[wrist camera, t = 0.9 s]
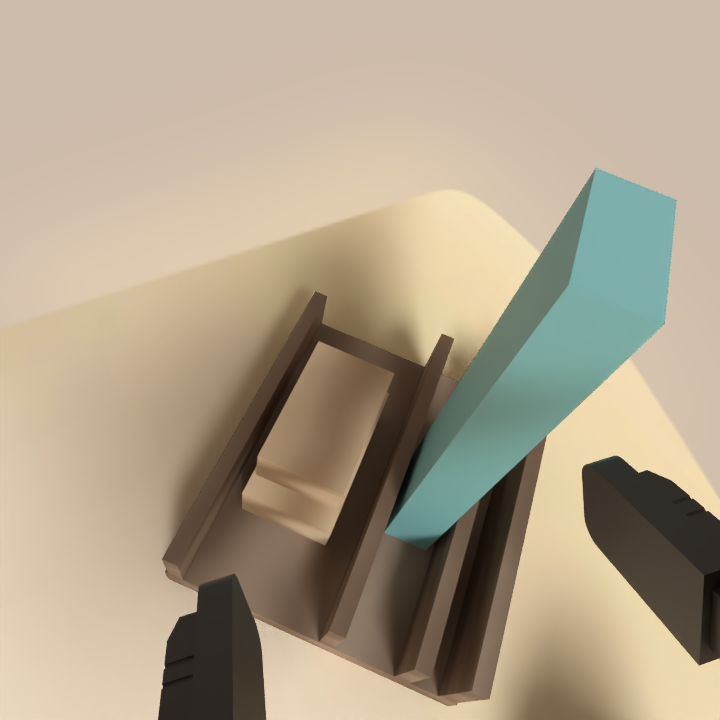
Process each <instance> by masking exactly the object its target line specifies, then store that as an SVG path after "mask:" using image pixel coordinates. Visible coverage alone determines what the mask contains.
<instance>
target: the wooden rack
mask: <svg viewBox="0 0 720 720" xmlns="http://www.w3.org/2000/svg"><path fill="white" fill-rule="evenodd" d="M326 299H327V296H325V295H323V294H320V293H318V292H316V291H315V293H314V295H313V297H312V298H311V300H310V302H309V304H308V305H307V307H306V309H305V311H304V312H303V314H302V316H301V318H300V319H299V321H298V323H297V325H296V326H295V328H294V330H293V332H292V333H291V335H290V337H289V339H288V340H287V342H286V344H285V346H284V347H283V349H282V351H281V353H280V354H279V356H278V358H277V360H276V361H275V363H274V365H273V367H272V368H271V370H270V372H269V373H268V375H267V377H266V379H265V380H264V382H263V384H262V386H261V387H260V389H259V391H258V393H257V394H256V396H255V398H254V400H253V401H252V403H251V405H250V407H249V408H248V410H247V412H246V414H245V415H244V417H243V419H242V421H241V422H240V424H239V426H238V428H237V429H236V431H235V433H234V435H233V436H232V438H231V440H230V442H229V443H228V445H227V447H226V449H225V450H224V452H223V454H222V456H221V457H220V459H219V461H218V463H217V464H216V466H215V468H214V470H213V471H212V473H211V475H210V477H209V478H208V480H207V482H206V484H205V485H204V487H203V489H202V491H201V492H200V494H199V496H198V497H197V499H196V501H195V503H194V504H193V506H192V508H191V510H190V511H189V513H188V515H187V517H186V518H185V520H184V522H183V524H182V525H181V527H180V529H179V531H178V532H177V534H176V536H175V538H174V539H173V541H172V543H171V545H170V546H169V548H168V550H167V552H166V553H165V555H164V557H163V559H162V560H163V562H164V564H165V567H166V571H165V573H166V575H167V577H168V578H169V579H171V580H173V581H175V582H178V583H180V584H182V585H184V586H186V587H189V588H191V589H193V590H195V591H197V592H198V589H199V585H200V584H202V583H205V582H208V581H211V580H215V579H218V578H221V577H224V576H227V575H231V574H235V575H236V576H237V578H238V580H239V583H240V585H241V588H242V590H243V593H244V595H245V598H246V600H247V603H248V605H249V608H250V610H251V613H252V615H253V617H254V618H256V619H259V620H261V621H263V622H265V623H267V624H270V625H272V626H274V627H276V628H278V629H280V630H283V631H285V632H287V633H289V634H291V635H294V636H296V637H298V638H300V639H302V640H305V641H307V642H309V643H311V644H313V645H316V646H318V647H320V648H322V649H324V650H326V651H329V652H331V653H333V654H335V655H337V656H340V657H342V658H344V659H346V660H348V661H351V662H353V663H355V664H357V665H359V666H362V667H364V668H366V669H368V670H370V671H372V672H375V673H377V674H379V675H381V676H383V677H386V678H388V679H390V680H392V681H394V682H397V683H399V684H401V685H403V686H405V687H407V688H410V689H412V690H414V691H416V692H418V693H421V694H423V695H425V696H427V697H429V698H432V699H434V700H436V701H438V702H440V703H443V704H445V705H447V706H452V705H457V703H460V702H469V701H477V700H486V699H490V694H491V689H492V685H493V680H494V676H495V671H496V666H497V662H498V657H499V653H500V648H501V643H502V639H503V634H504V630H505V625H506V620H507V616H508V611H509V607H510V602H511V597H512V593H513V588H514V584H515V579H516V574H517V570H518V565H519V561H520V556H521V551H522V547H523V542H524V538H525V533H526V528H527V524H528V519H529V515H530V510H531V505H532V501H533V496H534V492H535V487H536V482H537V478H538V473H539V469H540V464H541V459H542V455H543V450H544V446H545V441H546V437H545V438H544V439H543V440H542V441H541V442H539V443H538V444H537V445H536V446H535V447H534V448H533V449H532V450H531V451H530V452H529V453H528V454H527V455H526V456H525V457H524V458H523V459H522V460H521V461H519V462H518V463H517V464H516V465H515V466H514V467H513V468H512V469H511V470H510V471H509V472H508V473H507V474H506V475H505V476H504V477H503V478H502V479H500V480H499V481H498V482H497V483H496V484H495V485H494V486H493V487H492V488H491V489H490V490H489V491H488V492H487V493H486V494H485V495H484V496H483V497H481V498H480V499H479V500H478V501H477V502H476V503H475V504H474V505H473V506H472V507H471V508H470V509H469V510H468V511H467V512H466V513H465V514H464V515H462V516H461V517H460V518H459V519H458V520H457V521H456V522H455V523H454V524H453V525H452V526H451V527H450V528H449V529H448V530H447V531H446V532H445V533H444V534H442V535H441V536H440V537H439V538H438V539H437V540H436V541H435V542H434V543H433V544H432V545H431V546H430V547H429V548H428V549H427V550H426V551H425V550H423V549H420V548H418V547H416V546H414V545H411V544H409V543H407V542H404V541H402V540H400V539H398V538H395V537H393V536H391V535H389V534H386V533H384V531H385V529H386V526H387V523H388V520H389V517H390V515H391V512H392V509H393V506H394V504H395V501H396V498H397V495H398V493H399V490H400V487H401V484H402V482H403V479H404V476H405V473H406V471H407V468H408V465H409V462H410V459H411V457H412V455H413V454H414V452H415V450H416V449H417V447H418V446H419V444H420V443H421V441H422V440H423V438H424V436H425V435H426V433H427V432H428V430H429V429H430V427H431V425H432V424H433V422H434V421H435V419H436V418H437V416H438V414H439V413H440V411H441V410H442V408H443V407H444V405H445V404H446V402H447V400H448V399H449V397H450V396H451V394H452V393H453V391H454V389H455V388H456V386H457V385H458V383H459V382H458V381H456V380H453V379H451V378H449V377H446V376H444V375H442V371H443V368H444V365H445V363H446V360H447V357H448V354H449V352H450V349H451V346H452V343H453V341H454V339H453V338H451V337H448V336H446V335H444V334H442V335H441V337H440V339H439V341H438V343H437V344H436V346H435V348H434V350H433V352H432V354H431V356H430V358H429V360H428V362H427V364H426V366H425V367H423V366H420V365H418V364H416V363H413V362H411V361H409V360H406V359H404V358H401V357H399V356H397V355H394V354H392V353H390V352H387V351H385V350H383V349H380V348H378V347H375V346H373V345H371V344H368V343H366V342H364V341H361V340H359V339H357V338H354V337H352V336H349V335H347V334H345V333H342V332H340V331H338V330H335V329H333V328H331V327H328V326H326V325H324V324H321V323H322V318H323V313H324V309H325V304H326ZM319 341H320V342H322V343H324V344H327V345H329V346H331V347H334V348H336V349H338V350H341V351H343V352H345V353H348V354H350V355H352V356H355V357H357V358H359V359H362V360H364V361H367V362H369V363H371V364H374V365H376V366H378V367H381V368H383V369H385V370H388V371H390V372H392V373H394V376H393V378H392V381H391V383H390V385H389V388H388V390H387V393H389V395H388V398H387V400H386V403H385V405H384V407H383V410H382V412H381V415H380V417H379V420H378V422H377V424H376V427H375V429H374V432H373V434H372V436H371V439H370V441H369V444H368V446H367V448H366V451H365V453H364V456H363V458H362V460H361V463H360V465H359V468H358V470H357V472H356V475H355V477H354V480H353V482H352V485H351V487H350V489H349V492H348V494H347V497H346V499H345V501H344V504H343V506H342V509H341V511H340V513H339V516H338V518H337V521H336V523H335V525H334V528H333V530H332V533H331V535H330V537H329V539H328V541H327V543H326V545H323V544H320V543H318V542H316V541H314V540H312V539H309V538H307V537H305V536H303V535H300V534H298V533H296V532H294V531H291V530H289V529H287V528H285V527H282V526H280V525H278V524H276V523H273V522H271V521H269V520H267V519H264V518H262V517H260V516H258V515H255V514H253V513H251V512H249V511H247V510H244V509H242V493H243V491H244V489H245V487H246V485H247V483H248V481H249V479H250V477H251V475H252V474H253V472H254V470H255V468H256V466H257V457H258V454H259V453H260V451H261V449H262V447H263V445H264V443H265V441H266V439H267V437H268V436H269V434H270V432H271V430H272V428H273V426H274V424H275V422H276V421H277V419H278V417H279V415H280V413H281V411H282V409H283V407H284V406H285V404H286V402H287V400H288V398H289V396H290V394H291V392H292V391H293V389H294V387H295V385H296V383H297V381H298V379H299V377H300V375H301V374H302V372H303V370H304V368H305V366H306V364H307V362H308V360H309V359H310V357H311V355H312V353H313V351H314V349H315V347H316V345H317V344H318V342H319Z"/></svg>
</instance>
